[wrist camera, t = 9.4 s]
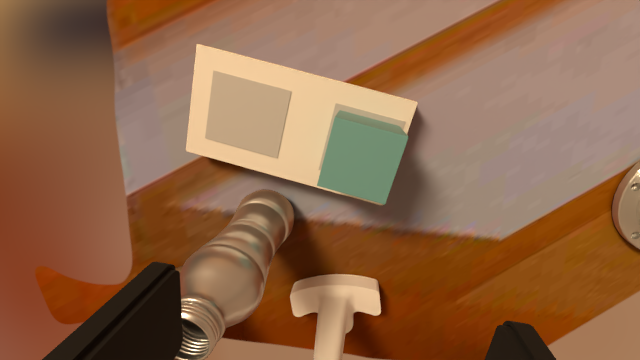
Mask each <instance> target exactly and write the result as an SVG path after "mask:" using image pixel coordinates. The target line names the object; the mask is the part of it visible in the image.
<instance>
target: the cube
mask: <svg viewBox="0 0 640 360" xmlns="http://www.w3.org/2000/svg"><path fill="white" fill-rule="evenodd" d="M408 137H409V136H408V135H407V134H406V133H405V132H404V131H403V130H402V128H401V127H400V126H397V125H394V124H390V123H386V122H382V121H379V120H375V119H371V118H368V117H364V116H360V115H356V114H353V113H349V112H345V111H341V110H339V112H338V113H337V114H336V116H335V118H334V122H333V126H332V130H331V134H330V137H329V141H328V145H327V149H326V153H325V157H324V160H323V164H322V168H321V172H320V176H319V179H318V183H317V186H320V187H323V188H327V189H330V190H334V191H338V192H341V193H345V194H348V195H352V196H356V197H359V198H363V199H366V200H370V201H373V202H377V203H381V204H384V205H385V203H386V200H387V198H388V195H389V192H390V189H391V186H392V183H393V180H394V178H395V175H396V172H397V169H398V166H399V163H400V160H401V158H402V155H403V152H404V149H405V146H406V143H407V140H408Z"/></svg>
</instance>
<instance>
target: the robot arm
mask: <svg viewBox="0 0 640 360" xmlns="http://www.w3.org/2000/svg"><path fill="white" fill-rule="evenodd" d="M612 217H613V221H614V224H615V227H616V228H617V230H618V232H619V234H620V235H621V236H622V237H623V238H624V239H625V240H626V241H627V242H629V243H630V244H632V245H634V246H635V247H637V248H638V249H640V161H639V162H638V163H637V164H636V165H635V166H634V167H633V168H632V169H631V170H630V171H629V172H628V173H627V174H626V175H625V177H624V178H623V180H622V181H621V183H620V184H619V186H618V188H617V191H616V193H615V195H614V200H613V204H612ZM182 342H183V330H182V309H181V287H180V273H179V271H177V270H176V269H175V266H174V265H172V264H166V263H160V262H152V263H151V264H150V265H148V266H147V267H146V268H145V269H144V270H143V271H142V272H141V273H139V274H138V275H137V276H136V277H135V278H134V279H133V280H131V281H130V282H129V283H128V284H127V285H126V286H125V287H124V288H122V289H121V290H120V291H119V292H118V293H117V294H116V295H115V296H113V297H112V298H111V299H110V300H109V301H108V302H107V303H105V304H104V305H103V306H102V307H101V308H100V309H99V310H98V311H96V312H95V313H94V314H93V315H92V316H91V317H90V318H89V319H87V320H86V321H85V322H84V323H83V324H82V325H81V326H79V327H78V328H77V329H76V330H75V331H74V332H73V333H72V334H70V335H69V336H68V337H67V338H66V339H65V340H64V341H63V342H62V343H61V344H59V345H58V346H57V347H56V348H55V349H54V350H53V351H51V352H50V353H49V354H48V355H47V356H46V357H44V359H42V360H174V359H175V357H176V356H177V354H178V352H179V351H180V348H181V346H182ZM485 360H556V358H555V357H554V356H553V354H552V353H551V351H550V350H549V349H548V347H547V346H546V344H545V343H544V342H543V340H542V339H541V337H540V336H539V335H538V333H537V332H536V330H535V329H534V328H533V327H532V326H531V325H529V324H525V323H519V322H513V321H505V322H504V323H503V325H499V326H497V328H496V331H495V334H494V336H493V339H492V342H491V344H490V347H489V350H488V352H487V355H486V358H485Z"/></svg>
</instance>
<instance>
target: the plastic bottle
mask: <svg viewBox="0 0 640 360" xmlns="http://www.w3.org/2000/svg"><path fill="white" fill-rule="evenodd" d="M293 225H294V211H293V208H292V206H291V204H290V202H289V201H288V200H287V199H286V198H285V197H284V196H283V195H281V194H280V193H278V192H275V191H272V190H258V191H255V192H253V193H251V194H249V195H248V196H246V197H245V198H244V199H243V200H242V201H241V203H240V204H239V206H238V208H237V210H236V212H235V215H234V217H233V218H232V220H231V221H230V223H229V224H228V226H227V227H226V228H225V229H224V230H223V231H222V232H221V233H219V234H218V235H217V236H216V237H215V238H214V239H212V240H211V241H209V242H208V243H207V244H205V245H204V246H203V247H201V248H200V249H198V250H197V251H196V252H195V253H194V254H193V255H191V256H190V257H189V258H188V259H187V260H186V262H185V264H184V265H183V267H182V270H181V273H180V287H181V309H182V330H183V342H182V346H181V348H180V351H179V352H178V354H177V356H176V357H175V358H176V359H178V360H204V359H205V358H207V357H208V355H209V354H210V353H211V352H212V350H213V348H214V347H215V345H216V343H217V342H218V341H219V340H220V339H221V337H222V336H223V334H224V332H225V330H226V328H227V327H230V326H233V325H235V324H237V323H240V322H242V321H244V320H245V319H246V318H248V317H249V316H250V315H251V314H252V313H253V312H254V311H255V310H256V308H257V307H258V306H259V304H260V301H261V299H262V296H263V293H264V288H265V284H266V279H267V275H268V270H269V267H270V265H271V262H272V259H273V257H274V254H275V253H276V251H277V250H278V248H279V247H280V245H281V244H282V243H283V242H284V241H285V240H286V239H287V237H288V236H289V235H290V233H291V231H292V229H293Z"/></svg>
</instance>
